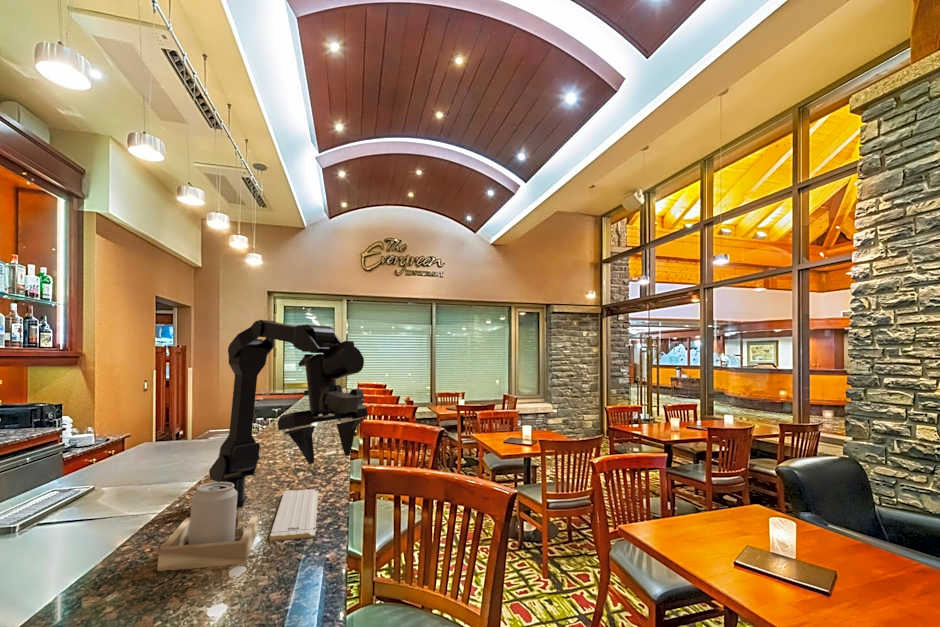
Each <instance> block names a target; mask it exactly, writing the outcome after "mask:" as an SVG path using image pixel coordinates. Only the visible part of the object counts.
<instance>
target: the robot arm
mask: <svg viewBox="0 0 940 627" xmlns="http://www.w3.org/2000/svg"><path fill="white" fill-rule="evenodd" d="M261 338H264V339H261ZM276 340H277V341H280V342H281V341H282V342H286V343H290V344H292V346H293V347H294V348H295V349H297V350H300V351H301V352H304V353H306V354H304V356H303V357H302V359H300V361H299V363H298V366H299V367H305V374H306V384H307V390H304V391H303V393H304V394H303V395H304V397H308V402H309V409H308V410H302V411H294V412H290V413H286V414H282V415H280V416H279V418H278V421H277V430H278V431H284V435H289V437H290V438H291V440H293V442H294V444H296V446H297V447H298V449H299V450H300V452H301V453H302V455H303V457H304V458H305V460H306V462H307V463H308V464H309V465H314V463H315V452H314V442H313V440H314V439H313V434H314V430H315V429H316V426H315V425H313V426H311V424H314V423H322V422H328V421H335V420H336V421H338V422H340V423H337V424H336V429H337V432H338V435H339V440H340V444H341V447H342V450H343V453H344V455H345V456H346V457H348V456H350V455H351V453H352V448H353V442H354V437H355V434H356V431H357V428H358V427H359V425H360V424H361V423H362V422H364V421H365V418H367V417H368V416H369V415H368V409H367V407H366V406H365V404H364V401H365V395H364V391H363V389H361V388H352V389H351V390H350V392H343V388H342V386H341V384H337V379H341V378H344V377H348V376H352V375H355V374H358V373H360V372H361V371H362V369H363V368H364V364H365V359H364V356H363V354H362V352H361V350H359V348H357V347H356V346H355V342H354V341H353V340H344V341H341V340H340V338H339V337H338V336H337V335H336V333H335V330H334V327H332V326H329V325H315V324H298V325H292V324H287V323H282V322H277V321H276V320H266V319H258V320H255V321H254V322H253V323H252V325H250V327H248V328H246V329H244V330H242V331H241V332H239V333H238V334H237V335H236V336H235V337H234V338H233V339H232V341H231V342H230V344H229V345H228V348H227V353H228V365H229V367H230V369H231V370H232V372H233V374H234V380H233V381H234V383H233V390H232V391H233V392H232V401H231V413H230V422H229V423H230V425H229V432H228V436H227V437H226V439H225V440H224V441H223V443H222V444H221V446H220V448H219V453H218V457H217V459H216V460H215V461H214V463H213V464H212V466H211V467H210V468H209V474H208V475H209V480H210V481H214V482H230V483H233V484H234V487H233V488H234V489H235V490H236V491H237V492H238V494H237V507H244V505H245V504H246V501H247V500H248V496H247V495H245V489H246V488H245V487H246V477H249V476H254V475H255V472H256V469H257V466H258V462H259V460H260V448H261V445H260V443H259V442H257V441H256V439H255V438H254V436H253V429H254V428H253V426H254V414H255V403H256V395H257V386H258V384H257V382H258V375H260V372H261V371H262V370H263V368H264V367H265V366H266V363H267V358H268V355H269V354H270V353H271V352H272V350H273V349H274V348H275V341H276ZM307 352H308V353H310V354H308V353H307ZM285 430H286V431H285Z"/></svg>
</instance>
